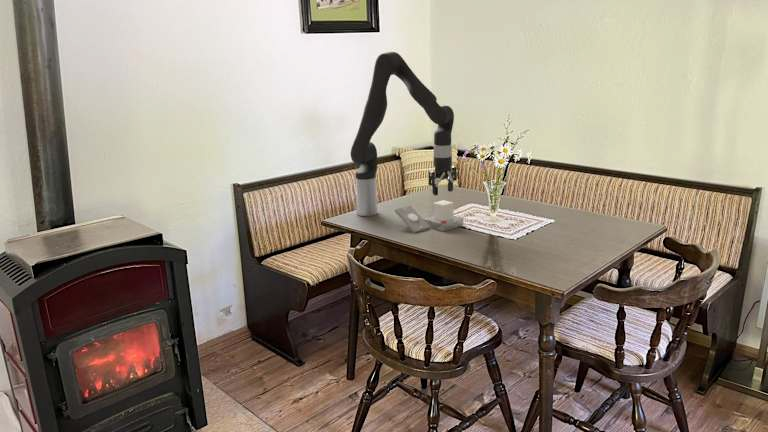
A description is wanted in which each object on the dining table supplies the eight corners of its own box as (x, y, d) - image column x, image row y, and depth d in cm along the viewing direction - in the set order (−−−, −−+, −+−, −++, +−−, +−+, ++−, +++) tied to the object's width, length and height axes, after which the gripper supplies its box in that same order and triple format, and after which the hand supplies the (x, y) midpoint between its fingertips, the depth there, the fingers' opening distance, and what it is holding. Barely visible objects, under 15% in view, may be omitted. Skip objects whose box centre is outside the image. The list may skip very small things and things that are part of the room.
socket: (423, 225, 251) (423, 217, 250) (443, 219, 258) (443, 211, 257) (443, 231, 242) (443, 223, 241) (463, 225, 249) (463, 217, 248)
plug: (433, 222, 250) (433, 202, 247) (443, 219, 253) (443, 200, 251) (443, 224, 245) (443, 205, 243) (453, 221, 249) (453, 202, 246)
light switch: (415, 229, 240) (395, 207, 248) (411, 240, 244) (391, 218, 252) (431, 225, 245) (410, 203, 253) (426, 235, 249) (407, 213, 256)
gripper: (448, 151, 248) (448, 188, 253) (423, 156, 240) (424, 194, 245) (461, 153, 243) (461, 191, 247) (436, 159, 234) (436, 198, 239)
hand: (442, 193), depth 246 cm, fingers open, 8 cm apart
